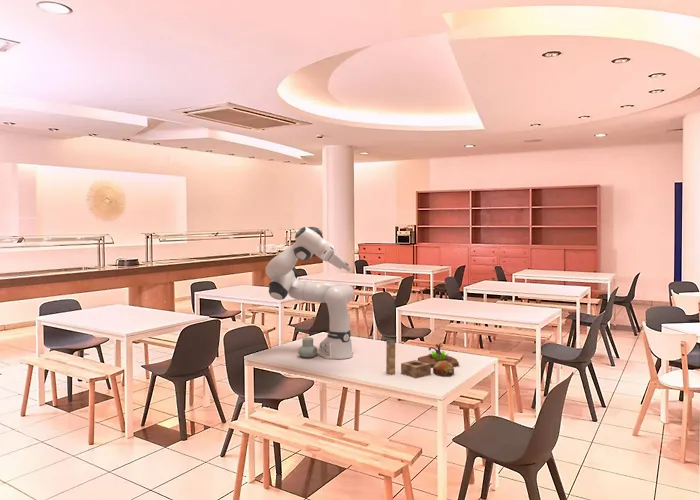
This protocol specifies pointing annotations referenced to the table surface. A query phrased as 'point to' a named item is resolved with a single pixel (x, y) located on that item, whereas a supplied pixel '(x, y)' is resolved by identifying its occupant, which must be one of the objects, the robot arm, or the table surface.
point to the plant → (438, 357)
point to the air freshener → (307, 348)
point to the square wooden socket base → (415, 369)
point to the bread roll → (443, 368)
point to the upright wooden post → (390, 357)
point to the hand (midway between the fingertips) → (349, 268)
